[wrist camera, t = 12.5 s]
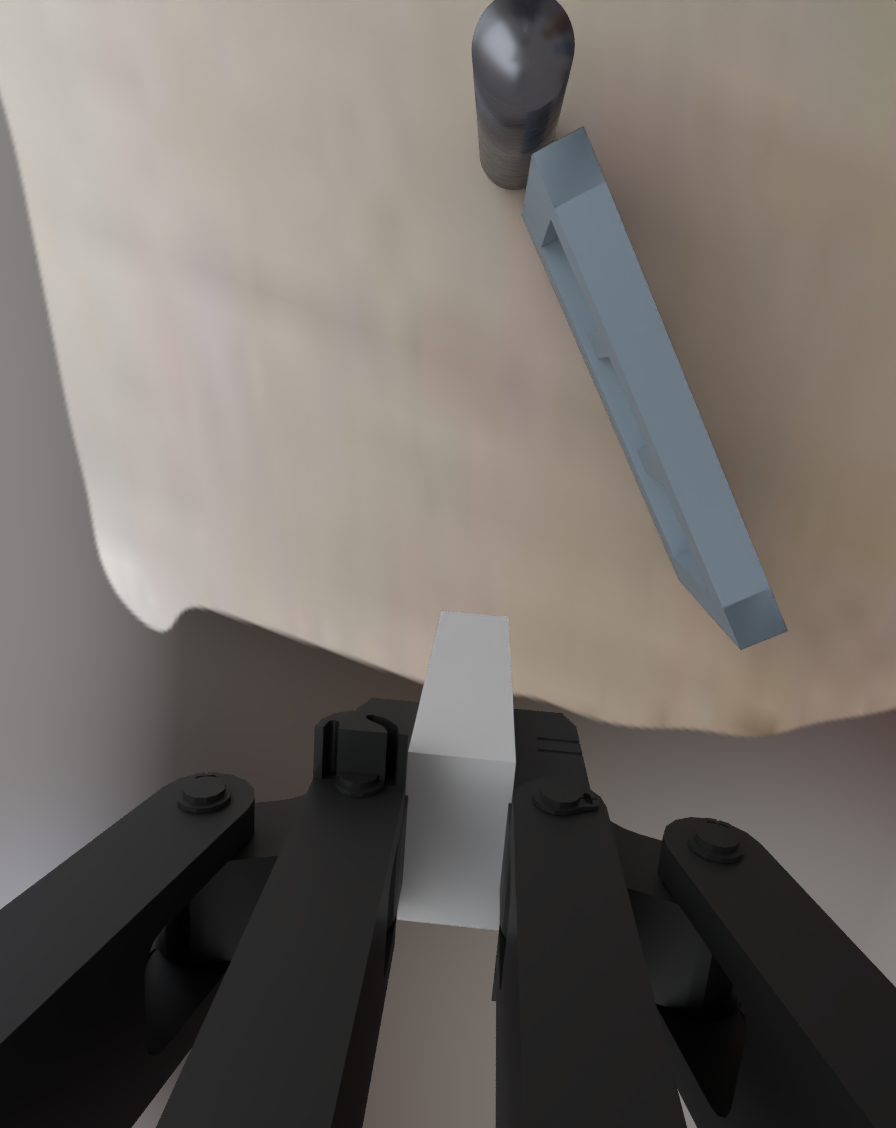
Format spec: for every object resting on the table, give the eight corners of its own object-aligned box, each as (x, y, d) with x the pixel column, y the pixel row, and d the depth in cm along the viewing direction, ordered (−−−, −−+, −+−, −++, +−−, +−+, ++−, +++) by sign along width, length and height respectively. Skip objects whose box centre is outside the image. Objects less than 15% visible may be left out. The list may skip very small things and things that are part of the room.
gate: (558, 196, 30) (583, 126, 22) (713, 564, 33) (787, 630, 25) (521, 215, 30) (531, 154, 22) (678, 579, 34) (740, 649, 25)
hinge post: (471, 125, 30) (459, 9, 21) (540, 102, 30) (560, -27, 20) (490, 199, 31) (487, 119, 21) (557, 177, 31) (585, 86, 21)
